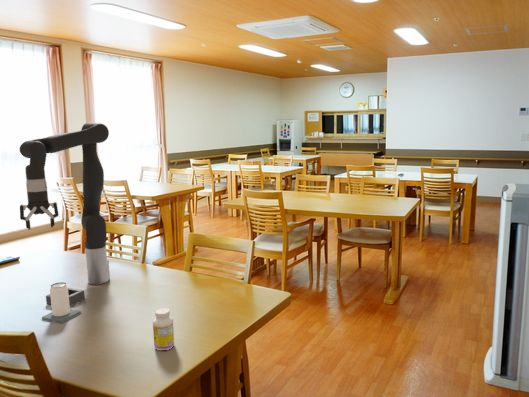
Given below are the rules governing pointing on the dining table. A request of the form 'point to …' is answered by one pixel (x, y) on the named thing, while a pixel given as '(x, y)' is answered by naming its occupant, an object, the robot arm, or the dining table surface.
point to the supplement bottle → (163, 330)
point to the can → (59, 299)
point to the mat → (61, 319)
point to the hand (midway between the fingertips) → (40, 228)
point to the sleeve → (70, 296)
